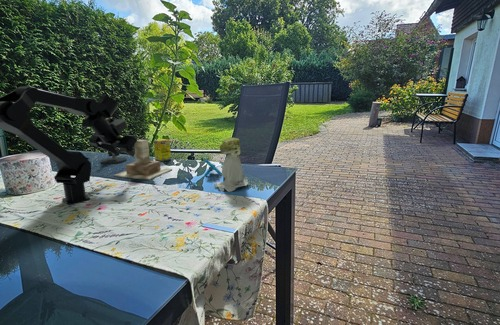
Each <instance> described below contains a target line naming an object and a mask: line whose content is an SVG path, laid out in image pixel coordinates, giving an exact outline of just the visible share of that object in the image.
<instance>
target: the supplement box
mask: <svg viewBox="0 0 500 325" xmlns="http://www.w3.org/2000/svg"><path fill="white" fill-rule="evenodd" d="M170 141H171V140H170V139H168V138H167V139H166V138H162V139H161V138H160V139H154V140H153V148H154V149H153V150H154V161H160V163H163V162H167V161H171V160H172V156H171V142H170Z"/></svg>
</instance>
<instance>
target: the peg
mask: <svg viewBox="0 0 500 325" xmlns="http://www.w3.org/2000/svg"><path fill="white" fill-rule="evenodd" d="M133 147H134V157H135V162H136V164H138V165H146V164H149V163H150V161H151V159H150V147H149V140H148V139H137V142H136V143H135V144H134V146H133Z"/></svg>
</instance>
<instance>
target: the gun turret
mask: <svg viewBox="0 0 500 325" xmlns="http://www.w3.org/2000/svg"><path fill="white" fill-rule="evenodd" d="M112 145H113V147H114V148H115V150H116V153H115V154H114V153H111V152H109V151H106V150H104V149H101V150H102V151H105V152H107V155H108V158H107V157H106V158H103V159H101V160H100V164H102V165H117V164H122V163H125V162H127V161H128V160H127V158H126V157H122V156H120V151H119V147H117V146H118V143H113V144H112Z"/></svg>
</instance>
